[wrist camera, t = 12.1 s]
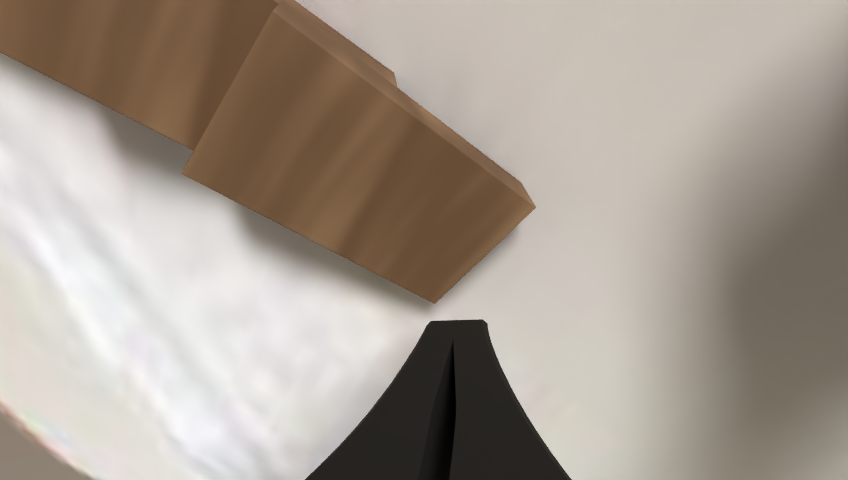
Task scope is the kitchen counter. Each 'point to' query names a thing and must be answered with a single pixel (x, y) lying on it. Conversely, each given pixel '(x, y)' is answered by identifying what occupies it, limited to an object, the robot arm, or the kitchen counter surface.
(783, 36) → the kitchen counter surface
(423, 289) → the domino
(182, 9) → the domino
